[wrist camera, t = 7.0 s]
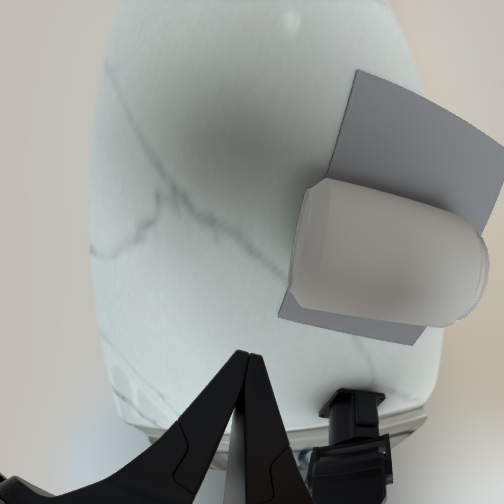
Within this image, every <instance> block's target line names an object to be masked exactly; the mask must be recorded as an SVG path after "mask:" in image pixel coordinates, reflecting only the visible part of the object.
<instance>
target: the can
mask: <svg viewBox="0 0 504 504" xmlns="http://www.w3.org/2000/svg"><path fill="white" fill-rule="evenodd" d="M488 276H489V256H488V249H487V247H486V245H485V242H484V240H483V238H482V237H481V236H480V235H479V234H478V233H477V232H476V231H475V230H474V227H473V225H472V224H471V223H470V222H469V221H468V220H467V219H466V218H465V217H463V216H460V215H457V214H454V213H451V212H448V211H445V210H442V209H439V208H436V207H433V206H430V205H427V204H424V203H420V202H417V201H414V200H411V199H407V198H404V197H400V196H397V195H393V194H390V193H386V192H382V191H379V190H375V189H371V188H367V187H363V186H359V185H355V184H351V183H347V182H343V181H338V180H334V179H330V178H325V179H323V180H322V181H320V182H319V183H318V184H316V185H315V186H313V187H312V188H308V189H307V191H306V193H305V195H304V199H303V202H302V206H301V210H300V214H299V218H298V223H297V228H296V233H295V238H294V243H293V249H292V254H291V261H290V268H289V275H288V290H289V291H290V292H292V294H293V295H294V297H295V299H296V300H297V302H298V303H299V305H300V306H301V307H302V308H307V309H313V310H319V311H325V312H331V313H337V314H343V315H349V316H356V317H362V318H369V319H376V320H383V321H390V322H397V323H405V324H413V325H421V326H429V327H438V328H442V327H446V326H449V325H452V324H453V323H454V322H455V321H456V320H460V319H462V318H465V317H467V316H468V315H469V314H470V313H471V312H472V311H474V309H476V307H477V305H478V304H479V302H480V300H481V299H482V297H483V294H484V292H485V288H486V286H487V282H488Z"/></svg>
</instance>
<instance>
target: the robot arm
mask: <svg viewBox="0 0 504 504" xmlns="http://www.w3.org/2000/svg"><path fill="white" fill-rule="evenodd" d="M384 400H385V395H384V394H377V393H367V392H359V391H351V390H344V389H341V390H338V391H337V392H336V393H335V395H334V396H333V397H332V398H331V399H330V401H329V402H328V403H327V404H326V405H325V406H324V408H323V409H322V410H321V411H320V412H319V417H322V418H329V446H323V447H313V452H312V453H311V458H310V463H309V468H308V473H307V476H306V479H305V482H304V480H303V478H302V476H301V474H300V471H299V469H298V466H297V464H296V461H295V458H294V455H293V452H292V449H291V447H290V446H289V445H290V443H289V440H288V437H287V434H286V431H285V428H284V424H283V421H282V418H281V415H280V412H279V409H278V405H277V402H276V399H275V396H274V393H273V389H272V386H271V383H270V380H269V376H268V373H267V370H266V366H265V363H264V360H263V357H262V356H261V355H258V354H254V353H250V354H249V353H248V352H246V351H242V350H236V351H235V352H234V354H233V355H232V356H231V357H230V358H229V360H228V361H227V362H226V363H225V364H224V366H223V367H222V368H221V369H220V370H219V372H218V373H217V374H216V375H215V376H214V378H213V379H212V380H211V381H210V382H209V384H208V385H207V386H206V387H205V388H204V389H203V391H202V392H201V393H200V394H199V395H198V396H197V398H196V399H195V400H194V401H193V402H192V403H191V404H190V406H189V407H188V408H187V409H186V410H185V411H184V412H183V414H182V415H181V416H180V417H179V418H178V421H175V422H174V423H173V425H172V426H171V427H170V428H169V429H168V430H167V431H166V432H165V433H164V434H163V435H162V436H161V437H160V438H159V439H158V440H157V441H156V442H155V443H153V444H152V445H151V446H150V447H149V448H148V449H146V450H145V451H144V452H143V453H141V454H140V455H139V456H138V457H136V458H135V459H133V460H132V461H131V462H129V463H128V464H127V465H125V466H124V467H123V468H121V469H120V470H119V471H117V472H116V473H114V474H112V475H111V476H109V477H107V478H106V479H103V480H101V481H99V482H96V483H93V484H91V485H88V486H85V487H83V488H80V489H77V490H74V491H71V492H68V493H65V494H62V495H59V496H55V495H53V494H50V493H48V492H46V491H44V490H42V489H40V488H38V487H36V486H34V485H32V484H30V483H29V482H27V481H25V480H23V479H21V478H20V477H17V476H12V477H11V478H9V479H7V478H6V477H5V476H3V475H2V474H1V473H0V504H193V502H194V500H195V497H196V495H197V493H198V491H199V489H200V487H201V484H202V482H203V480H204V478H205V475H206V473H207V471H208V469H209V466H210V464H211V462H212V460H213V457H214V455H215V453H216V450H217V448H218V446H219V443H220V441H221V439H222V436H223V434H224V432H225V429H226V427H227V424H228V422H229V420H230V417H231V415H232V412H233V418H232V427H231V436H230V445H229V454H228V463H227V472H226V481H225V491H224V499H223V504H385V503H386V501H387V486H386V485H388V484H393V472H392V460H391V449H390V440H389V433H388V434H384V435H382V436H379V426H378V424H379V418H378V410H377V407H378V406H379V405H380V404H381V403H382V402H383V401H384ZM233 410H234V411H233ZM288 446H289V447H288ZM383 452H386V453H385V454H384V453H383ZM306 485H307V486H308V488H307V487H306ZM311 495H312V496H311Z"/></svg>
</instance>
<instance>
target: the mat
mask: <svg viewBox="0 0 504 504" xmlns="http://www.w3.org/2000/svg"><path fill="white" fill-rule="evenodd" d="M326 178H330V179H334V180H338V181H343V182H347V183H351V184H355V185H359V186H363V187H367V188H371V189H375V190H379V191H382V192H386V193H390V194H393V195H397V196H400V197H404V198H407V199H411V200H414V201H417V202H420V203H424V204H427V205H430V206H433V207H436V208H439V209H442V210H445V211H448V212H451V213H454V214H457V215H460V216H463V217H465V218H466V219H467V220H468V221H469V222H470V223H471V224H472V225H473V227H474V230H475V231H476V232H477V233H478V234H479V235H480V236H481V234H482V232H483V230H484V228H485V226H486V224H487V221H488V219H489V217H490V215H491V212H492V210H493V208H494V205H495V203H496V200H497V198H498V195H499V192H500V190H501V187H502V185H503V182H504V147H503V146H502V145H500V144H499V143H497V142H496V141H495V140H493V139H492V138H490V137H489V136H487V135H486V134H485V133H483V132H482V131H480V130H479V129H477V128H476V127H474V126H472V125H471V124H469V123H468V122H466V121H465V120H463V119H461V118H460V117H458V116H456V115H455V114H453V113H451V112H449V111H448V110H446V109H444V108H442V107H441V106H438V105H437V104H435V103H433V102H431V101H429V100H427V99H425V98H423V97H421V96H419V95H417V94H415V93H413V92H411V91H409V90H407V89H405V88H402V87H400V86H398V85H396V84H393V83H391V82H389V81H386V80H384V79H382V78H379V77H377V76H374V75H371V74H369V73H366V72H364V71H361V70H357V71H356V75H355V79H354V83H353V87H352V90H351V94H350V98H349V101H348V105H347V109H346V112H345V116H344V119H343V123H342V126H341V130H340V133H339V136H338V140H337V143H336V146H335V150H334V153H333V156H332V160H331V163H330V166H329V169H328V172H327V176H326ZM278 318H282V319H286V320H291V321H295V322H299V323H303V324H307V325H312V326H316V327H320V328H325V329H329V330H334V331H338V332H343V333H348V334H353V335H358V336H362V337H367V338H372V339H378V340H383V341H388V342H394V343H399V344H405V345H411V346H413V345H414V343H415V342H416V341H417V339H418V338H419V337H420V335H421V334H422V333H423V331H424V330H425V328H426V327H427V326H421V325H413V324H405V323H397V322H390V321H383V320H376V319H369V318H362V317H356V316H349V315H343V314H337V313H331V312H325V311H319V310H313V309H307V308H302V307H301V306H300V305H299V303H298V302H297V300H296V299H295V297H294V295H293V294H292V292H290V291H289V290H288V289H287V292H286V295H285V297H284V300H283V303H282V305H281V308H280V311H279V313H278Z"/></svg>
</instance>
